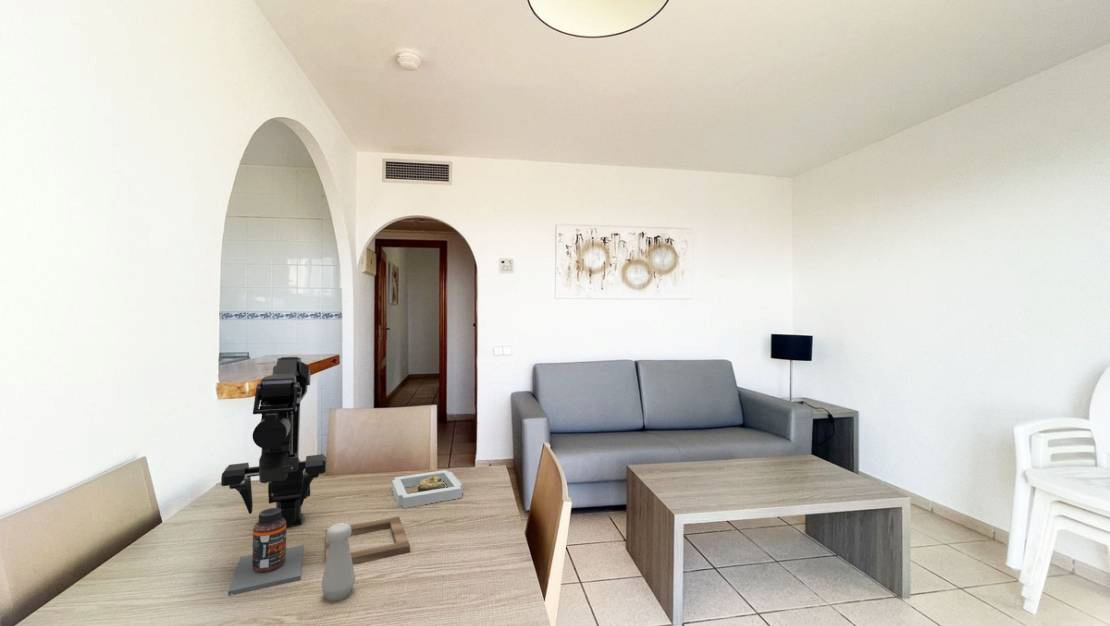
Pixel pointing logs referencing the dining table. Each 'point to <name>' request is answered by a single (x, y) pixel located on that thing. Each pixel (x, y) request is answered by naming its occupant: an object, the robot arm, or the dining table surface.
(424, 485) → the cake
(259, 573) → the grey flat slab
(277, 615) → the dining table surface
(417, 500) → the grey bread rim
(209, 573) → the dining table surface
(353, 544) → the dining table surface
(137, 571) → the dining table surface
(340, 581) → the salt shaker
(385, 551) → the frame
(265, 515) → the supplement bottle
